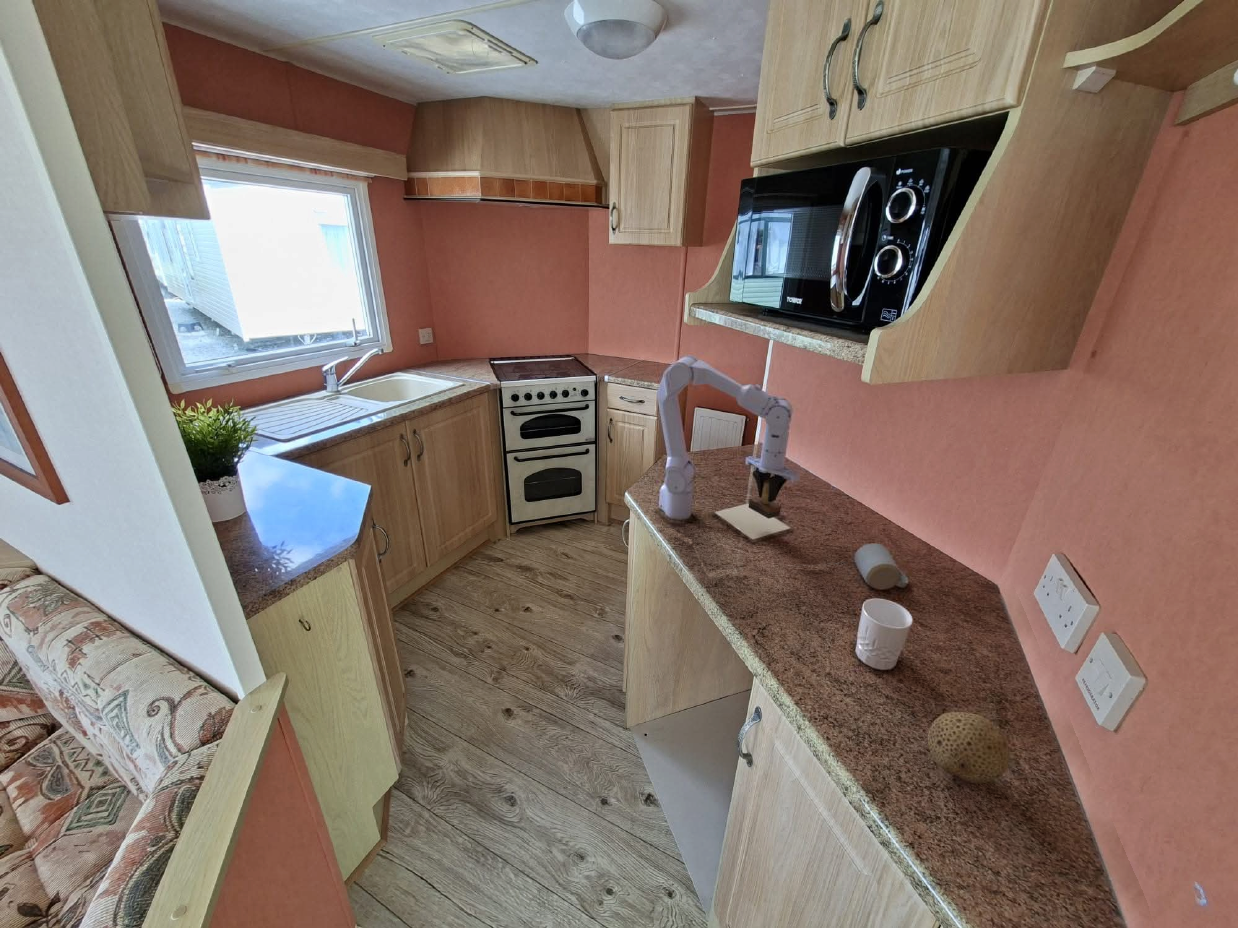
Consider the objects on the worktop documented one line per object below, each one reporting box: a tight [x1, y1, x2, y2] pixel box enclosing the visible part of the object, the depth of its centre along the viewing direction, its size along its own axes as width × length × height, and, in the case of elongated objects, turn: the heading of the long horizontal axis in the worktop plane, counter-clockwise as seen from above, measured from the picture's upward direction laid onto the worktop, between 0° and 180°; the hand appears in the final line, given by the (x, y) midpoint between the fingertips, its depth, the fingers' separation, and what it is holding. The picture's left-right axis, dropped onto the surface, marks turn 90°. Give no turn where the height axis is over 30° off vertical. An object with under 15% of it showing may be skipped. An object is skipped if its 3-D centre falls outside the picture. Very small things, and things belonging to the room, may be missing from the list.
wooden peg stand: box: [748, 480, 782, 519], centre depth 125 cm, size 7×4×8 cm, turn 31°
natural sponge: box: [927, 711, 1011, 784], centre depth 68 cm, size 9×9×10 cm
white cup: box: [855, 598, 914, 671], centre depth 88 cm, size 8×8×10 cm
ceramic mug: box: [853, 542, 909, 591], centre depth 109 cm, size 11×8×8 cm
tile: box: [714, 502, 791, 540], centre depth 134 cm, size 16×13×1 cm
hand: (767, 498), depth 125 cm, fingers closed on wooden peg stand, 2 cm apart
